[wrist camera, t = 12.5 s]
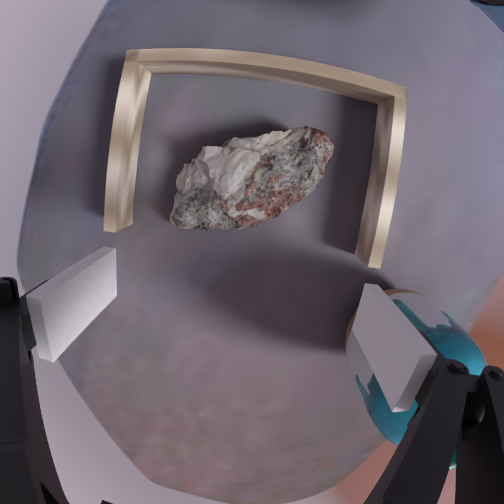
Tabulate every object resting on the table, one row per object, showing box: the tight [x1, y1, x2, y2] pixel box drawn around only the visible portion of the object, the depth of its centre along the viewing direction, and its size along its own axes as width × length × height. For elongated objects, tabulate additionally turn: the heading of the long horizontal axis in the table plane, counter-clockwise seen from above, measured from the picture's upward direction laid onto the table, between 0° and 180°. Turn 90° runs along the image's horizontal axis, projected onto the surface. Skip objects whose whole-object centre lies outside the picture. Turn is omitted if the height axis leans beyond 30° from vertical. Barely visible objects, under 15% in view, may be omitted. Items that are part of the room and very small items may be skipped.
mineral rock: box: [170, 125, 334, 231], centre depth 25 cm, size 15×8×4 cm, turn 100°
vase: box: [345, 289, 487, 470], centre depth 21 cm, size 11×11×19 cm
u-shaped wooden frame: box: [104, 48, 407, 269], centre depth 24 cm, size 16×24×4 cm
